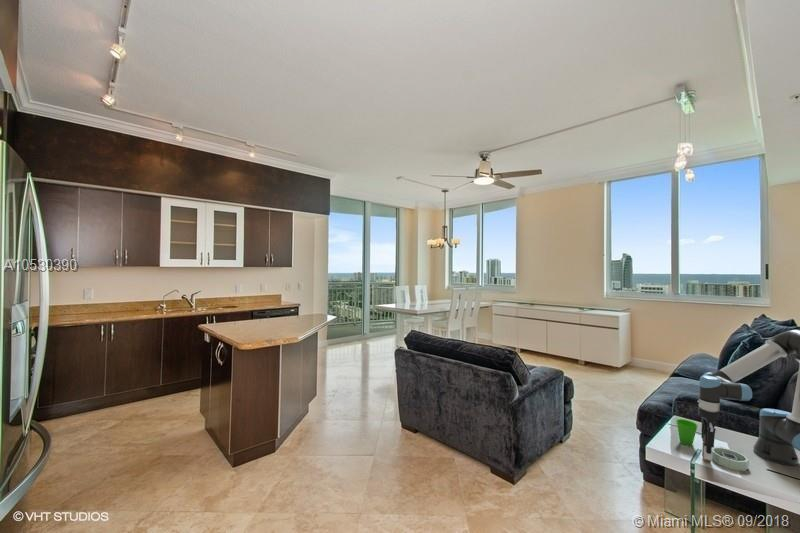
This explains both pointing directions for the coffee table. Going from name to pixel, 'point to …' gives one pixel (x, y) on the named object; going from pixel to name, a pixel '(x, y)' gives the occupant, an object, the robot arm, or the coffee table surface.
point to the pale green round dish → (730, 458)
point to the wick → (703, 451)
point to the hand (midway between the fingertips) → (706, 457)
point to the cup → (686, 431)
